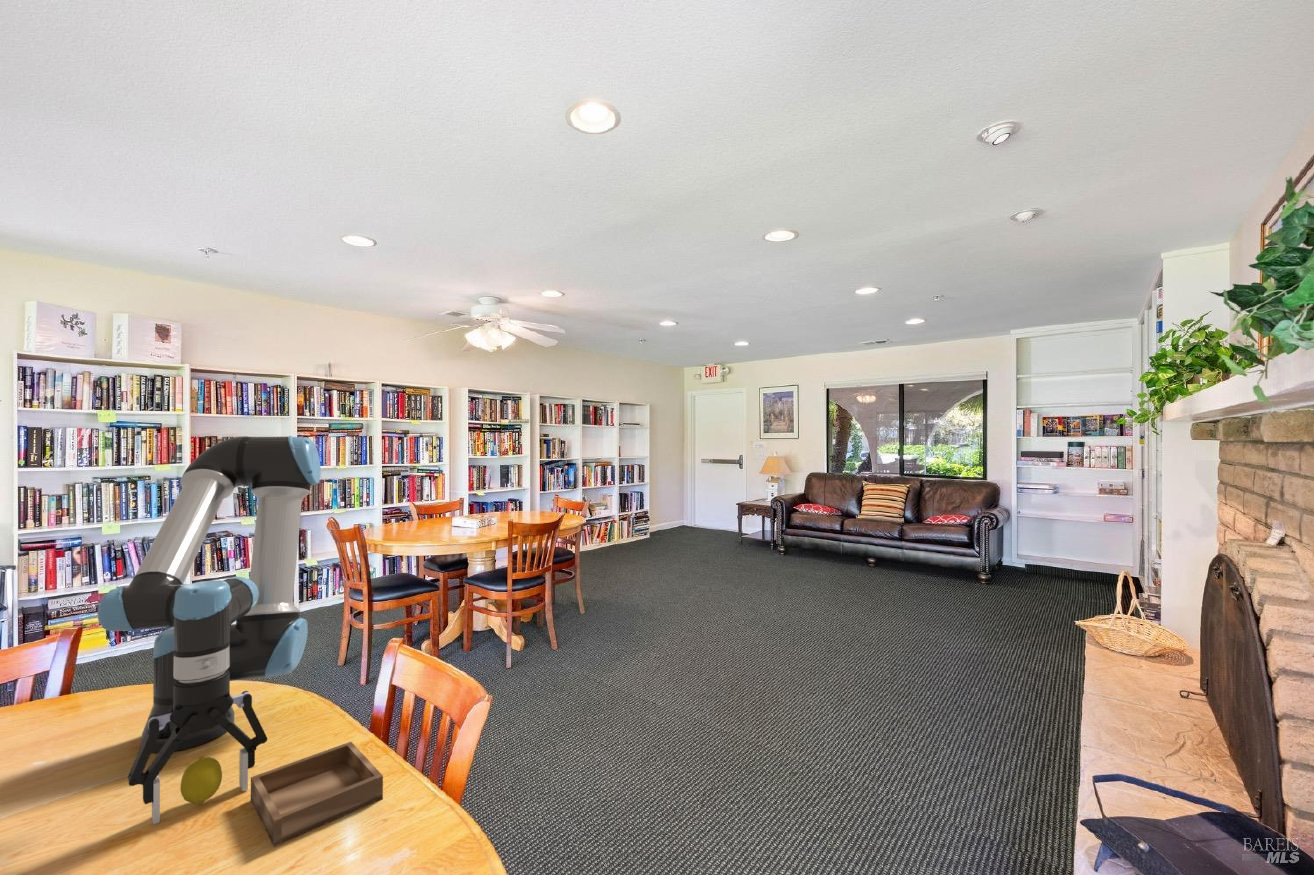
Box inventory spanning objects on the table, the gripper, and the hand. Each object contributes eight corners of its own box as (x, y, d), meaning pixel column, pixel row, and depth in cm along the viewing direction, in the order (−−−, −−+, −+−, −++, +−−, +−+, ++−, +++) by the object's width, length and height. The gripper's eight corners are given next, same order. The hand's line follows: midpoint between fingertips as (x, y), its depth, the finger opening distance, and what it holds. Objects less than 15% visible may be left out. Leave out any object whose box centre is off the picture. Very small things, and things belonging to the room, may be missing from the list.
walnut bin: (250, 800, 97) (250, 777, 97) (350, 762, 109) (351, 741, 109) (273, 846, 86) (274, 820, 86) (382, 798, 98) (382, 775, 98)
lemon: (198, 816, 93) (198, 768, 93) (171, 812, 94) (171, 764, 94) (230, 795, 98) (230, 750, 98) (204, 791, 100) (204, 746, 100)
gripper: (107, 704, 85) (106, 849, 85) (288, 661, 102) (287, 781, 102) (105, 689, 90) (104, 826, 90) (277, 650, 107) (276, 765, 107)
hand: (201, 802), depth 96 cm, fingers open, 11 cm apart
